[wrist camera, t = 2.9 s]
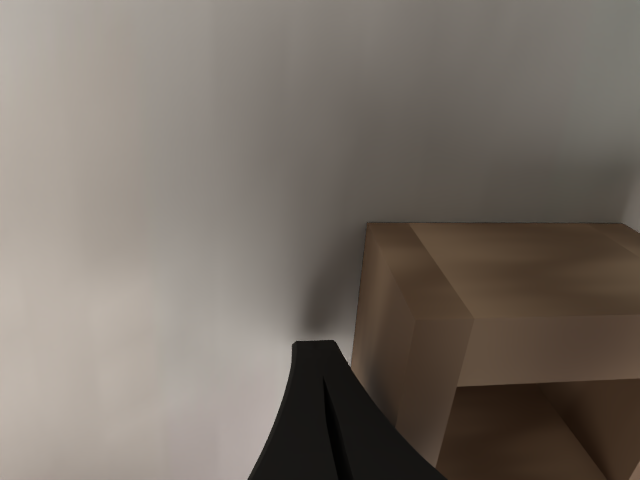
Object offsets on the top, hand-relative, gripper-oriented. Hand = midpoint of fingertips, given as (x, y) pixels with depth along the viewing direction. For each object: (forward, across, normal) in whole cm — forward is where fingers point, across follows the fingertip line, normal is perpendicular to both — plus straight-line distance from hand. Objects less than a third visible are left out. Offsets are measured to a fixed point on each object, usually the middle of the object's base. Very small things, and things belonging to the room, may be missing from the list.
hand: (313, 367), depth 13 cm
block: (+1, -6, 0) cm, 6 cm away
